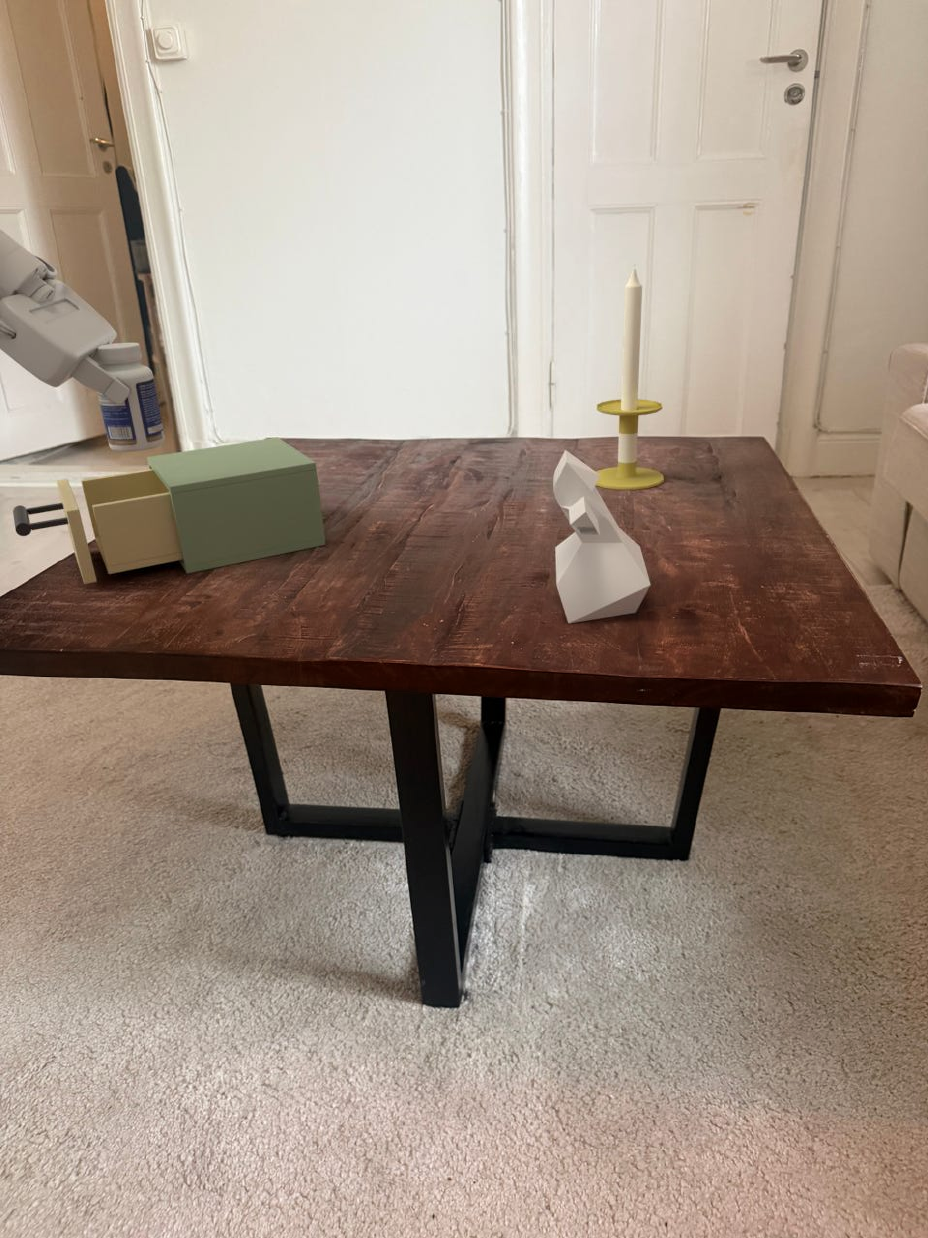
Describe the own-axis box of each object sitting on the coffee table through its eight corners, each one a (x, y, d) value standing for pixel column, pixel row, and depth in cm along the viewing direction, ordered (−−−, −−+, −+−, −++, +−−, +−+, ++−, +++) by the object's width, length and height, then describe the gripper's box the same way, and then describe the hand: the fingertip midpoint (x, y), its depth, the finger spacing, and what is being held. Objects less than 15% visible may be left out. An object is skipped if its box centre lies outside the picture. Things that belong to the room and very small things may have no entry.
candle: (583, 471, 121) (586, 263, 110) (654, 467, 121) (664, 259, 110) (596, 491, 112) (600, 268, 101) (672, 487, 112) (686, 263, 101)
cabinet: (186, 573, 92) (169, 486, 88) (162, 535, 104) (146, 456, 100) (325, 545, 98) (315, 462, 94) (288, 511, 110) (277, 437, 106)
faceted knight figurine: (636, 568, 88) (641, 434, 82) (651, 629, 75) (659, 475, 69) (552, 569, 89) (552, 436, 83) (554, 629, 76) (553, 477, 70)
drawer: (32, 595, 86) (11, 520, 83) (26, 554, 97) (7, 487, 94) (226, 555, 94) (214, 486, 91) (200, 522, 105) (188, 459, 101)
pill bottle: (158, 437, 90) (139, 339, 86) (172, 446, 86) (153, 344, 82) (104, 445, 87) (82, 345, 83) (116, 455, 83) (94, 351, 79)
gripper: (-18, 267, 69) (134, 384, 74) (48, 258, 87) (166, 352, 93) (-61, 329, 70) (92, 439, 76) (12, 308, 88) (131, 397, 94)
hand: (133, 391), depth 84 cm, fingers closed on pill bottle, 5 cm apart
